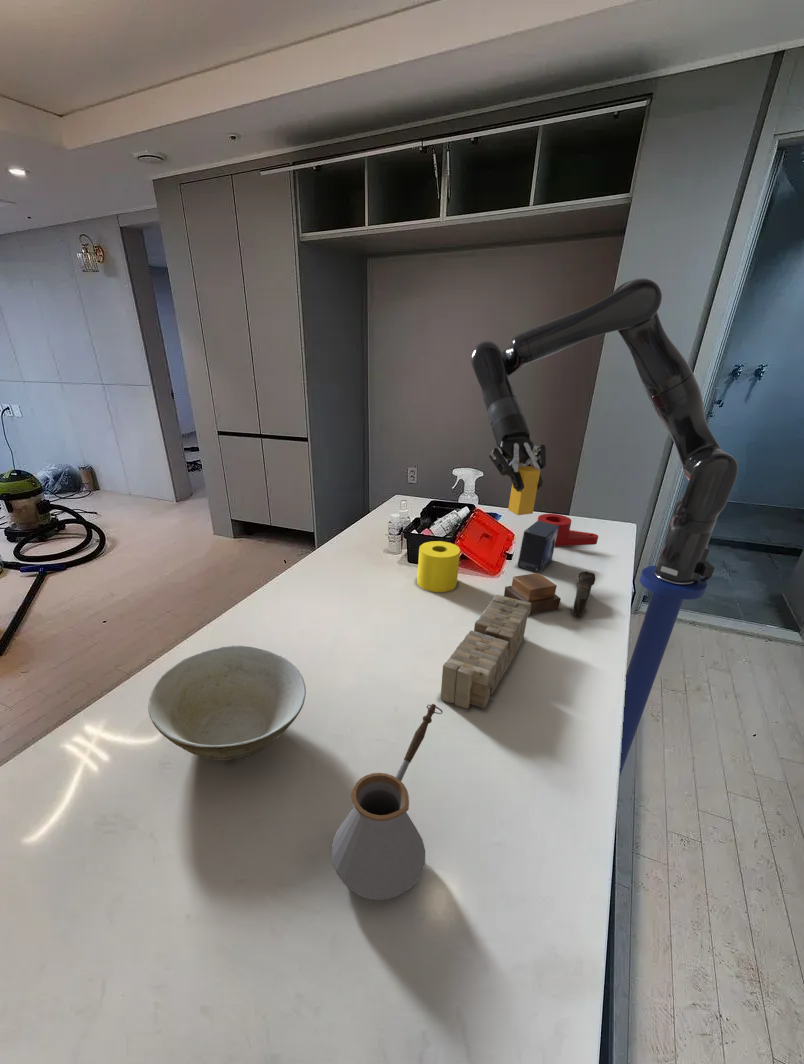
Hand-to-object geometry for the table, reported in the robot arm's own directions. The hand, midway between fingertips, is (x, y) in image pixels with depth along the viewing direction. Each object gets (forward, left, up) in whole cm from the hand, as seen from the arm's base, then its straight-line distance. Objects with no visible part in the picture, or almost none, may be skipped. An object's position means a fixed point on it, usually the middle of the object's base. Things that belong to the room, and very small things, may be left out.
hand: (529, 488), depth 113 cm
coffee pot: (+25, +71, -26) cm, 80 cm away
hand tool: (-16, +3, -26) cm, 31 cm away
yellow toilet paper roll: (+19, -3, -26) cm, 32 cm away
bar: (+1, -2, -6) cm, 6 cm away
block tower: (+9, +32, -26) cm, 42 cm away
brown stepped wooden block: (-3, +5, -26) cm, 27 cm away
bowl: (+52, +56, -26) cm, 81 cm away
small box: (-8, -18, -26) cm, 33 cm away
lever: (-20, -36, -26) cm, 49 cm away
